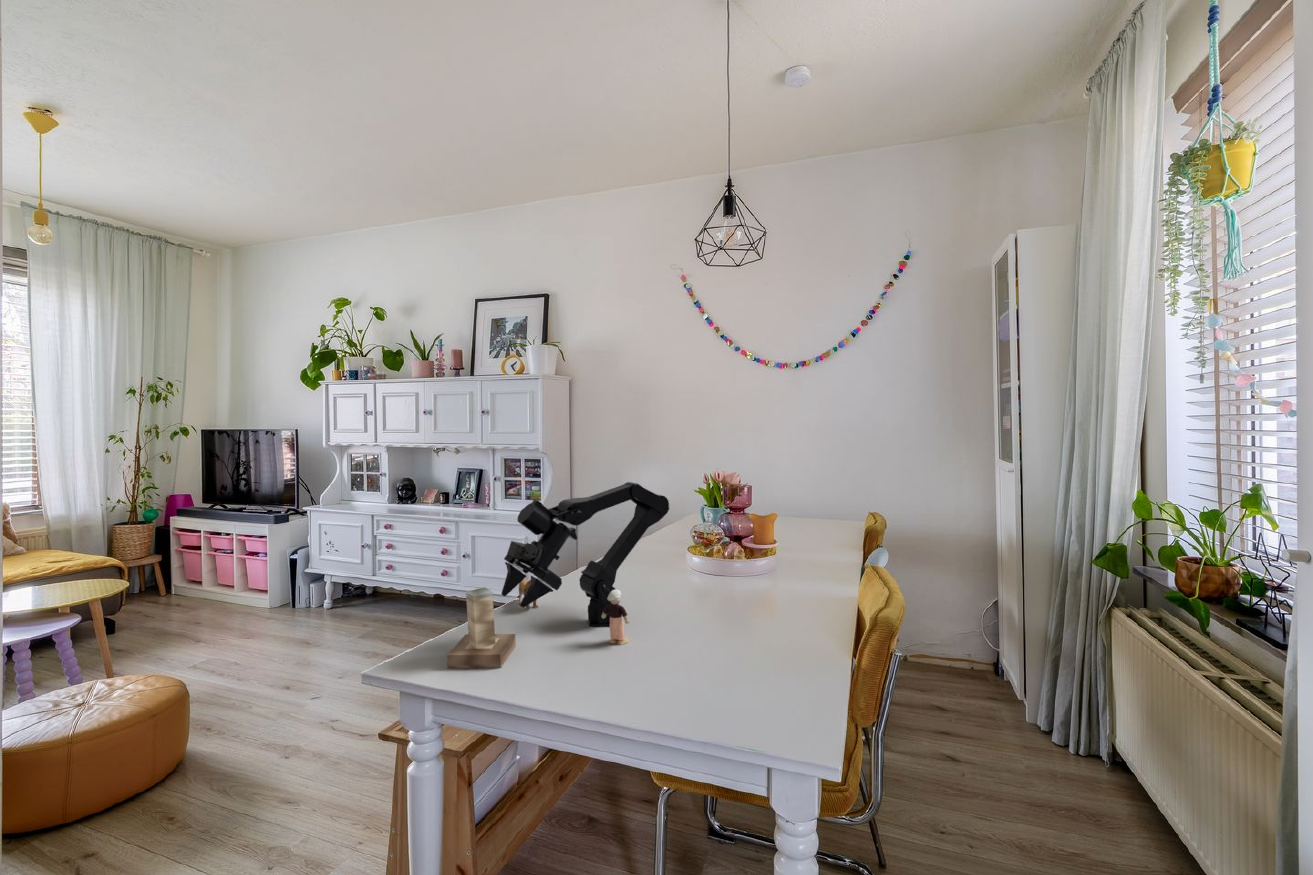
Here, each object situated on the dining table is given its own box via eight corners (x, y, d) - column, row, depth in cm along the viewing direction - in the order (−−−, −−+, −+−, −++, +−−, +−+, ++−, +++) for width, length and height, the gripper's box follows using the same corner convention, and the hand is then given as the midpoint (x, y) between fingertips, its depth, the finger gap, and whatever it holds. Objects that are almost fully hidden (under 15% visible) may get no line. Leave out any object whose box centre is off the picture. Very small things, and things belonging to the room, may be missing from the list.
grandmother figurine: (634, 639, 158) (632, 588, 157) (628, 646, 155) (626, 593, 154) (605, 637, 161) (602, 586, 160) (598, 643, 157) (596, 591, 156)
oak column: (487, 637, 154) (484, 587, 153) (495, 643, 151) (492, 591, 150) (468, 642, 152) (465, 591, 151) (476, 648, 148) (473, 596, 147)
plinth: (515, 645, 157) (515, 632, 157) (501, 667, 145) (500, 653, 145) (466, 646, 158) (465, 633, 158) (447, 668, 146) (446, 654, 146)
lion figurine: (549, 609, 182) (547, 577, 181) (531, 614, 179) (530, 581, 178) (525, 597, 194) (523, 567, 193) (508, 601, 191) (506, 570, 190)
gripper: (508, 520, 163) (470, 574, 158) (547, 536, 149) (506, 596, 144) (538, 542, 170) (502, 595, 165) (578, 560, 155) (540, 619, 150)
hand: (511, 601), depth 156 cm, fingers open, 9 cm apart
